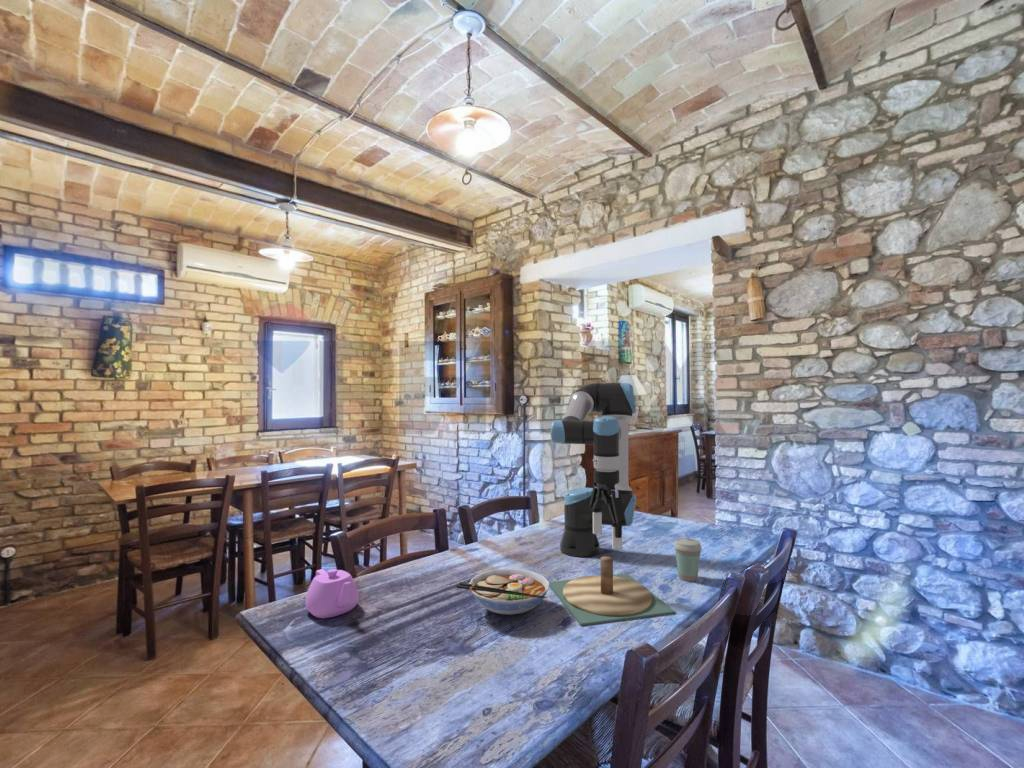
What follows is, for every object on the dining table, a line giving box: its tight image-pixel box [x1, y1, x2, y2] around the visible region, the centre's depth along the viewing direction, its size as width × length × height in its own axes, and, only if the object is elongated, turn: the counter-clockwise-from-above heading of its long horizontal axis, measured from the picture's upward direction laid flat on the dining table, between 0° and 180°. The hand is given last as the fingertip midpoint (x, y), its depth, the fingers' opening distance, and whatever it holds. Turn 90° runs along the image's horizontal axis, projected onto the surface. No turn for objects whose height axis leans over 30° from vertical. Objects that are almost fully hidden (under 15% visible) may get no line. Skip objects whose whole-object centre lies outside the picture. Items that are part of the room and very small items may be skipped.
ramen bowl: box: [456, 567, 550, 616], centre depth 138 cm, size 25×23×8 cm
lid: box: [563, 556, 652, 616], centre depth 145 cm, size 26×26×11 cm
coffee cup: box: [673, 537, 702, 583], centre depth 160 cm, size 9×8×12 cm
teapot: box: [305, 568, 360, 619], centre depth 138 cm, size 13×20×11 cm
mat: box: [549, 573, 676, 627], centre depth 145 cm, size 28×28×1 cm
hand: (606, 540), depth 145 cm, fingers open, 13 cm apart
